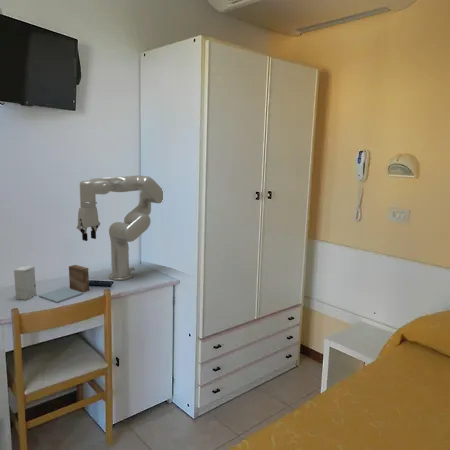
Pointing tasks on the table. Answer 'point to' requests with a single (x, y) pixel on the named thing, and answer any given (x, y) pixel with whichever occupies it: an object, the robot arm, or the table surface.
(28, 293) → the skincare box
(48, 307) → the table surface
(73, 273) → the walnut slab
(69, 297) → the mat
